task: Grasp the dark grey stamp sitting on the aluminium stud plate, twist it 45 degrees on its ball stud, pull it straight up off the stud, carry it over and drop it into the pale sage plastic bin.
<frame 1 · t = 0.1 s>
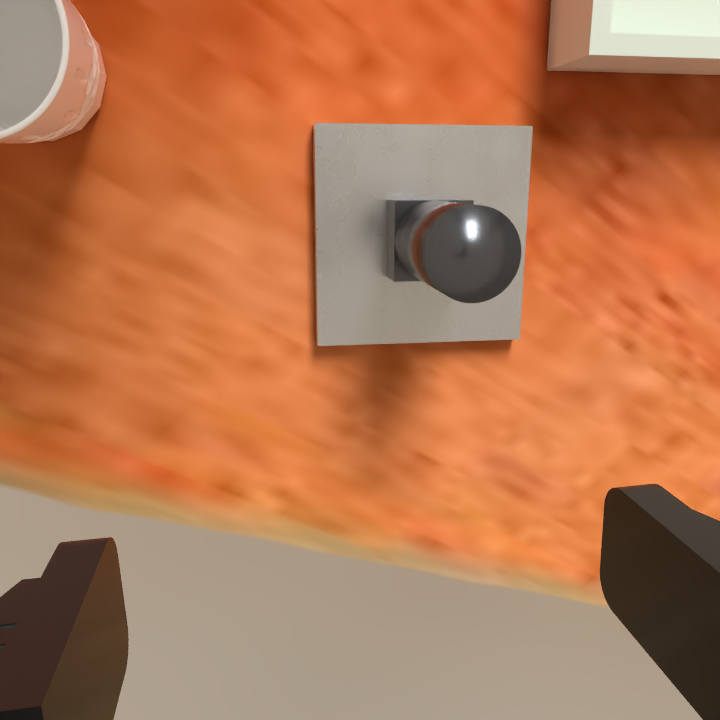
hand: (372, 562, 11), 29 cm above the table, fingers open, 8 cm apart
white cup: (37, 71, 34), on the table
stud plate: (419, 236, 39), on the table
dark grey stamp: (423, 237, 38), point 1 cm above the table, touching stud plate
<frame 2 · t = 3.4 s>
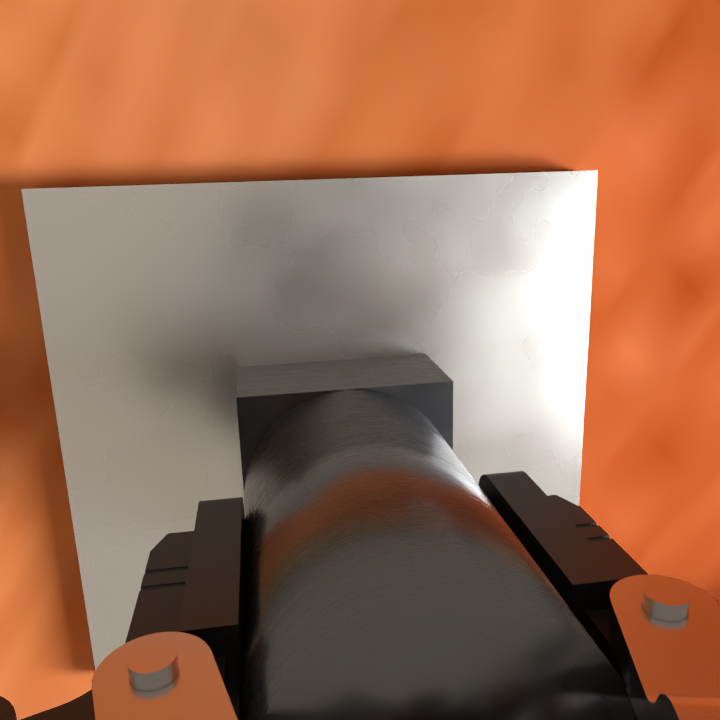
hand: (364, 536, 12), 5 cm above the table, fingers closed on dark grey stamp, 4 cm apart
stud plate: (332, 433, 17), on the table
dark grey stamp: (337, 448, 16), point 1 cm above the table, touching gripper, stud plate
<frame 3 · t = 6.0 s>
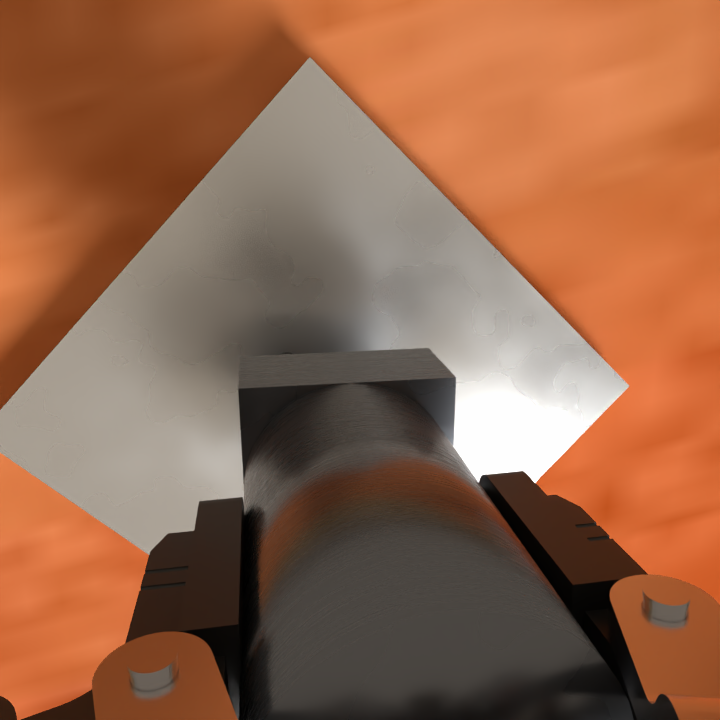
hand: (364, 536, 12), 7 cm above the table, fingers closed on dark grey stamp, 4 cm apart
stud plate: (321, 397, 19), on the table
dark grey stamp: (337, 440, 16), point 3 cm above the table, touching gripper
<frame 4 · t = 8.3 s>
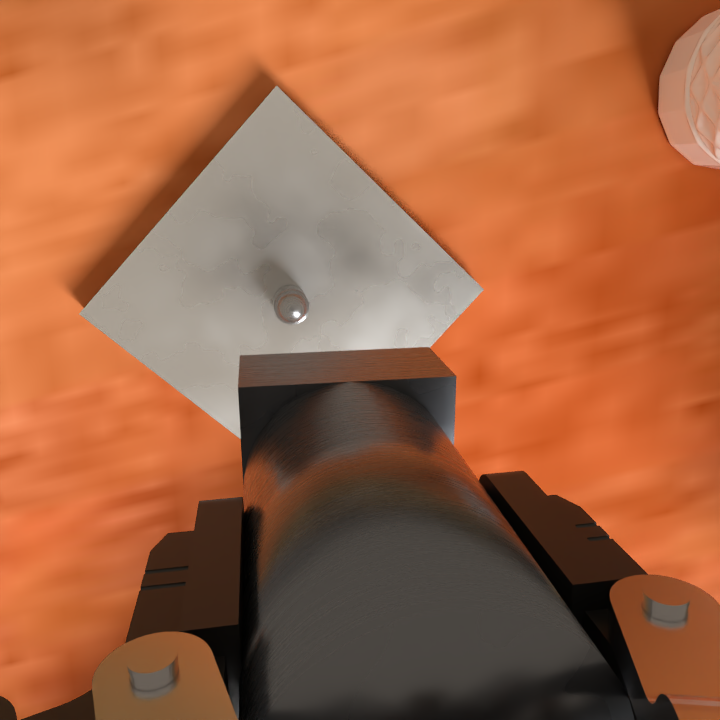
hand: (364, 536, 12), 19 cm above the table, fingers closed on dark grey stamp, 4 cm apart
stud plate: (288, 297, 30), on the table
dark grey stamp: (337, 439, 16), point 15 cm above the table, touching gripper
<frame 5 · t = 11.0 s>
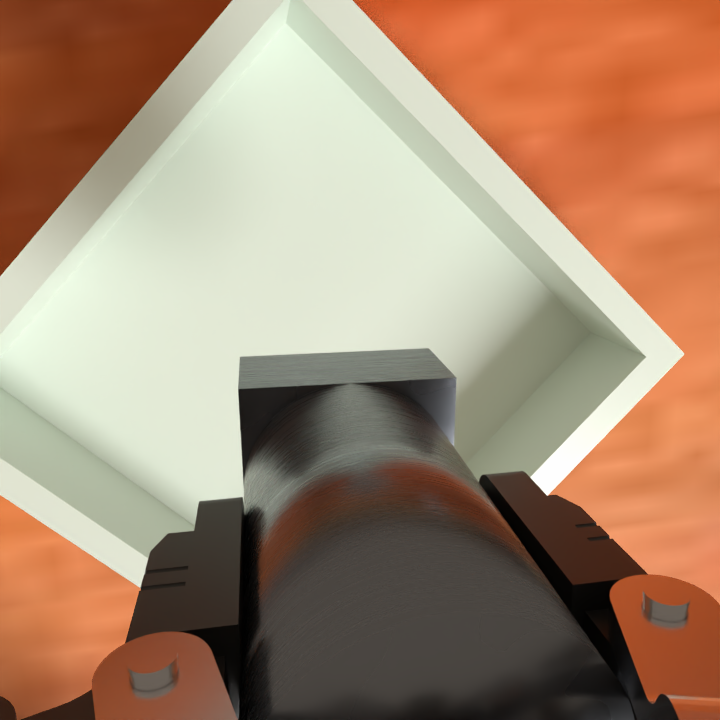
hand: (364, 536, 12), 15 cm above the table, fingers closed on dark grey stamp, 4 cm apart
sage bin: (303, 346, 27), on the table
dark grey stamp: (337, 440, 16), point 11 cm above the table, touching gripper
when the fingers open (7 cm above the table, at t = 13.2 s): dark grey stamp drops 2 cm, resting on sage bin.
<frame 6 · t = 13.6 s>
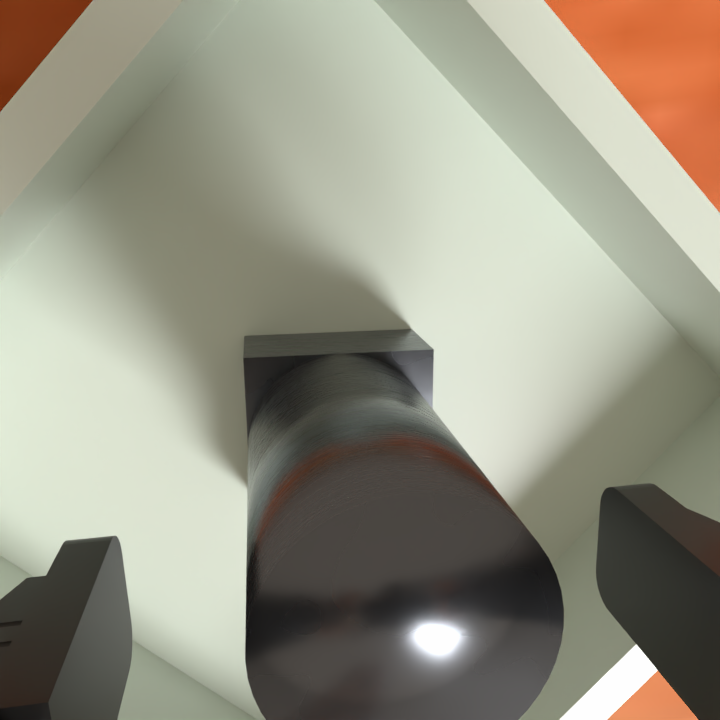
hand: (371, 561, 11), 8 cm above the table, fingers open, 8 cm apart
sage bin: (323, 407, 19), on the table
dark grey stamp: (331, 412, 18), point 1 cm above the table, touching sage bin
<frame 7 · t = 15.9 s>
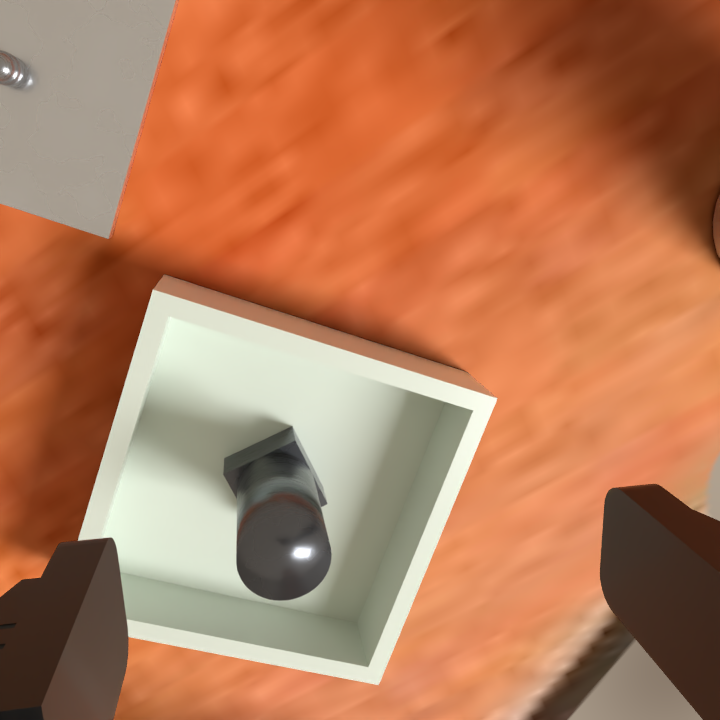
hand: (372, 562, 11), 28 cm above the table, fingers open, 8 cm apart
sage bin: (273, 469, 40), on the table
stud plate: (18, 74, 33), on the table
dark grey stamp: (274, 472, 39), point 1 cm above the table, touching sage bin
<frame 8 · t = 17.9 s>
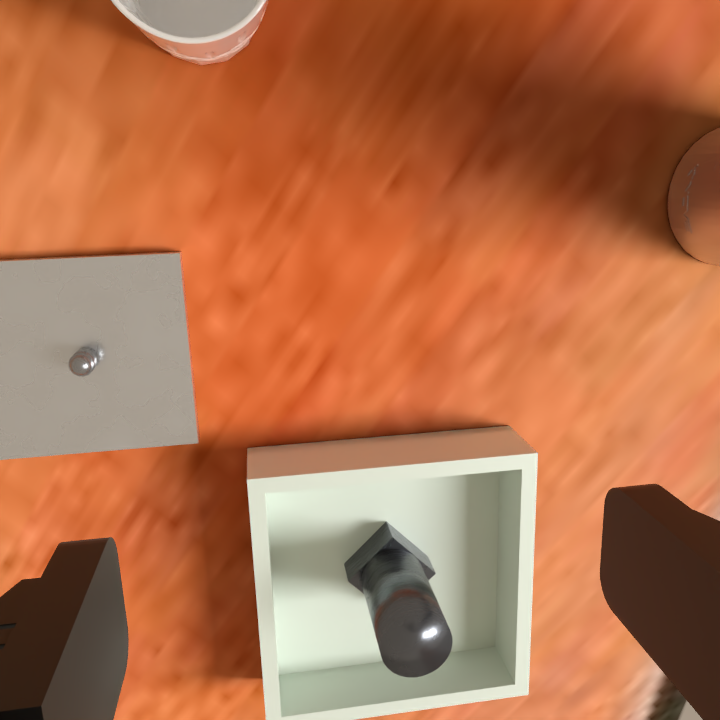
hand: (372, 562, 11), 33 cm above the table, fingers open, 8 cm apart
sage bin: (384, 555, 49), on the table
white cup: (200, 1, 38), on the table
stud plate: (90, 354, 42), on the table
dark grey stamp: (386, 559, 48), point 1 cm above the table, touching sage bin
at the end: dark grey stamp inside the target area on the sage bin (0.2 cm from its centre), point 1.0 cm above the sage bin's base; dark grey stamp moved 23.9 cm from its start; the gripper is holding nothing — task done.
